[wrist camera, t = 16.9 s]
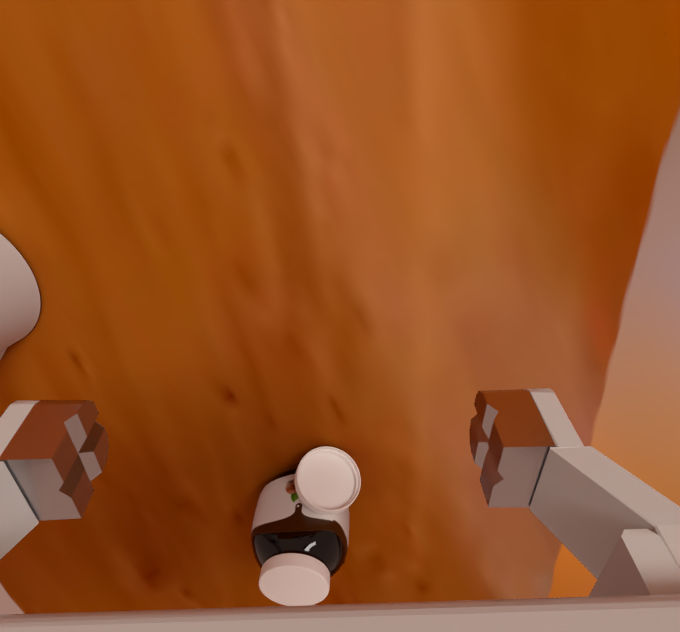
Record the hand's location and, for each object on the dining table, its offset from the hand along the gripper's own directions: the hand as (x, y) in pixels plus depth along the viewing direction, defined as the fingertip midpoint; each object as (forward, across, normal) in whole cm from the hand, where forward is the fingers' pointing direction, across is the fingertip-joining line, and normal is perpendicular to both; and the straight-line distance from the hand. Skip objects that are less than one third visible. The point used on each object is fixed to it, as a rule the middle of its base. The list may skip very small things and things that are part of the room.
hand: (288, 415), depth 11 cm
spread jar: (+29, +2, +40) cm, 49 cm away
